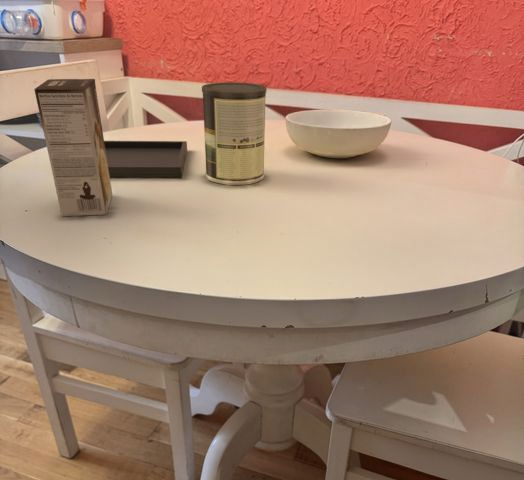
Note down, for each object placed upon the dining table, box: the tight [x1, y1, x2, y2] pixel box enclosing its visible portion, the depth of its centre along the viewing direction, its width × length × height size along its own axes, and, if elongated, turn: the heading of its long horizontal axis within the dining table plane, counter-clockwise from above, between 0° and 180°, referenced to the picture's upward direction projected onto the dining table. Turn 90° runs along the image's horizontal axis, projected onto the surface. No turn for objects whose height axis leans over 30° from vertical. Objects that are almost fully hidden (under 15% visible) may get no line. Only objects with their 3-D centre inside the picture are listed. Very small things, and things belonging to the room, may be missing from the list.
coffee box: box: [33, 78, 113, 217], centre depth 69 cm, size 9×6×16 cm
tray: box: [104, 140, 188, 179], centre depth 93 cm, size 18×20×2 cm
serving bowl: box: [285, 109, 392, 159], centre depth 101 cm, size 21×21×7 cm
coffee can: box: [201, 81, 267, 186], centre depth 83 cm, size 10×10×14 cm
